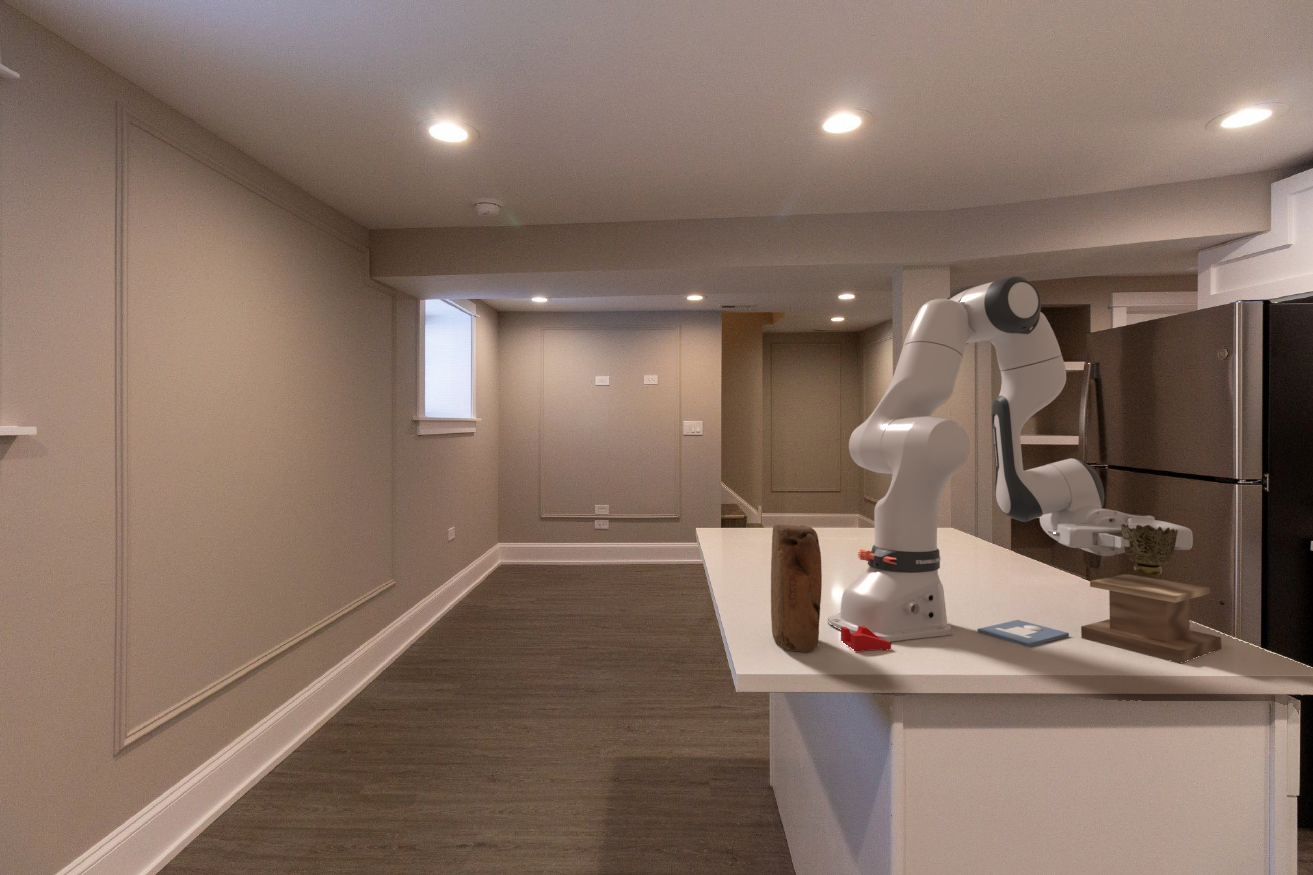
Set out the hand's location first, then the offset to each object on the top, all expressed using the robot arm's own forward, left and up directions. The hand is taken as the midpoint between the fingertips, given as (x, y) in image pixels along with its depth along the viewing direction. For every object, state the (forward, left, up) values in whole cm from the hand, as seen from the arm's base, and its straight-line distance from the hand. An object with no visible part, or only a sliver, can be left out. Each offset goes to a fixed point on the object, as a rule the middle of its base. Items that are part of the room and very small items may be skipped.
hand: (1151, 543), depth 101 cm
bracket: (-43, +22, -18) cm, 52 cm away
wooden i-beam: (0, +1, -17) cm, 17 cm away
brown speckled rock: (-53, +29, -17) cm, 62 cm away
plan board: (-14, +14, -17) cm, 26 cm away
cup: (0, +1, -5) cm, 6 cm away
